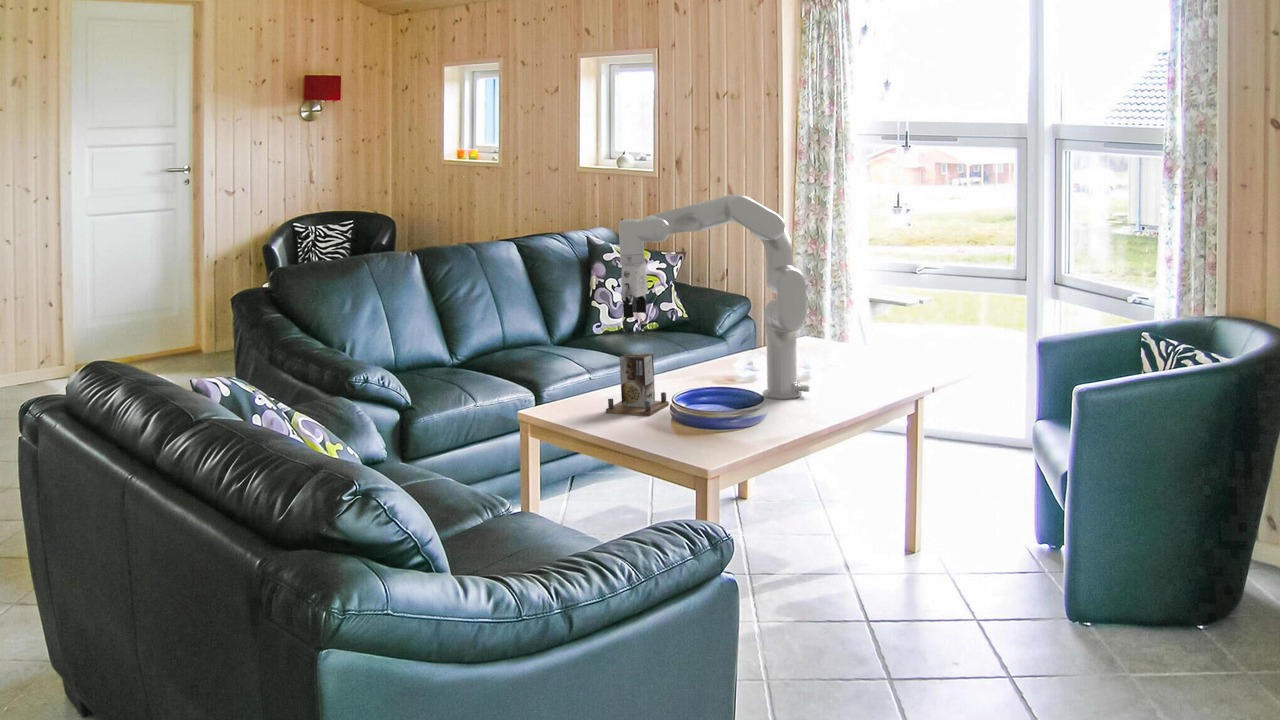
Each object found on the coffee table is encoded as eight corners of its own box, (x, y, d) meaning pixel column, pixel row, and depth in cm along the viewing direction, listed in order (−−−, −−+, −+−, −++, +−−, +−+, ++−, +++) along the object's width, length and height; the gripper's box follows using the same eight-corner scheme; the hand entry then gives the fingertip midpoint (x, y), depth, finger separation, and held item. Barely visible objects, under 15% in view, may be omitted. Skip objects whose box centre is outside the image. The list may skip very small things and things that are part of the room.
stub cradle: (668, 405, 383) (668, 392, 382) (650, 415, 369) (649, 402, 368) (625, 402, 389) (625, 389, 388) (606, 412, 375) (605, 399, 374)
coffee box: (656, 404, 380) (654, 353, 377) (646, 408, 374) (644, 357, 371) (630, 401, 384) (628, 352, 381) (620, 406, 378) (618, 355, 375)
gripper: (632, 263, 361) (634, 319, 364) (654, 256, 376) (657, 310, 380) (609, 263, 364) (612, 319, 367) (632, 256, 379) (635, 310, 383)
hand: (635, 314), depth 373 cm, fingers open, 9 cm apart
